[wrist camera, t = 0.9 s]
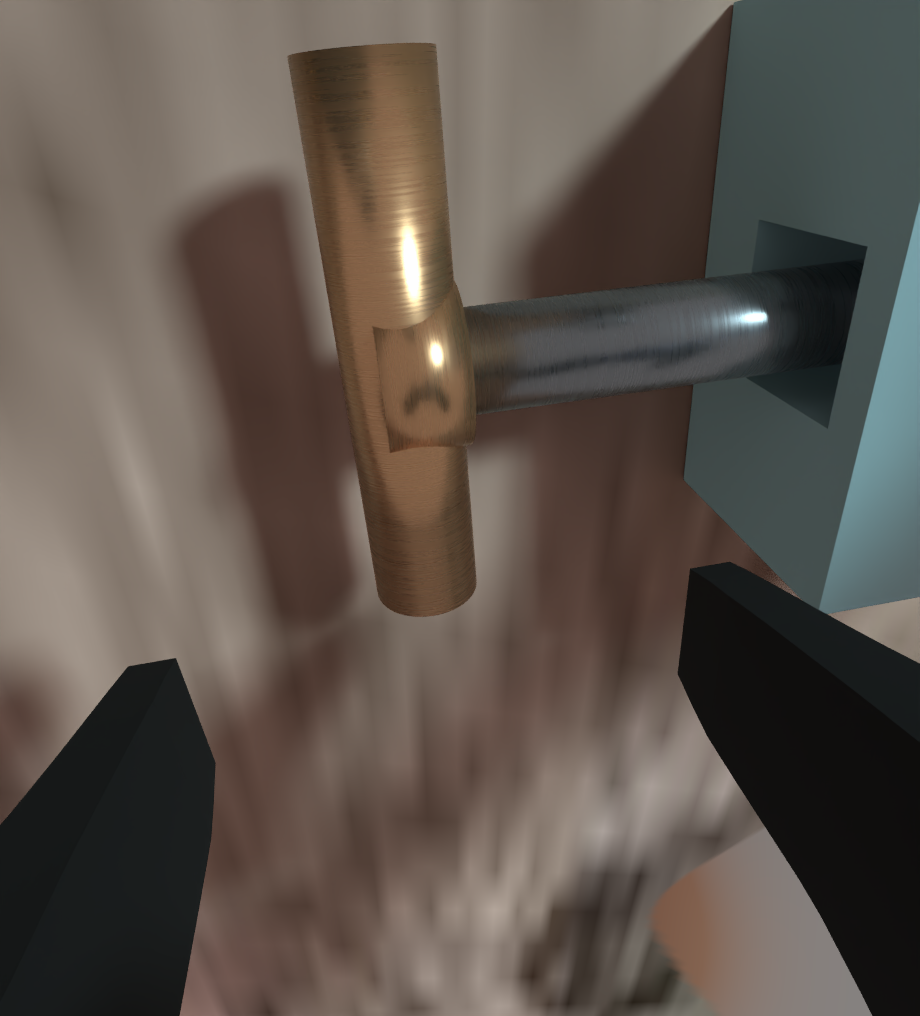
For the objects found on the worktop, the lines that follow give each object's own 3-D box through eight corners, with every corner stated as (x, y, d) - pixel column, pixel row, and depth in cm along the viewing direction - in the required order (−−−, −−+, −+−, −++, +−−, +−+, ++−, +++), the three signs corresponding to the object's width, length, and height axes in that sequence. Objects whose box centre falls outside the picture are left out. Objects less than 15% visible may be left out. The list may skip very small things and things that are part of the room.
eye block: (930, -12, 13) (1281, -82, 8) (826, 457, 18) (1006, 580, 13) (734, 2, 13) (985, -62, 8) (683, 479, 18) (817, 615, 13)
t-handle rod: (1083, 1, 12) (1275, -26, 10) (937, 463, 17) (1041, 524, 14) (290, 62, 10) (282, 48, 8) (373, 554, 15) (382, 638, 13)
